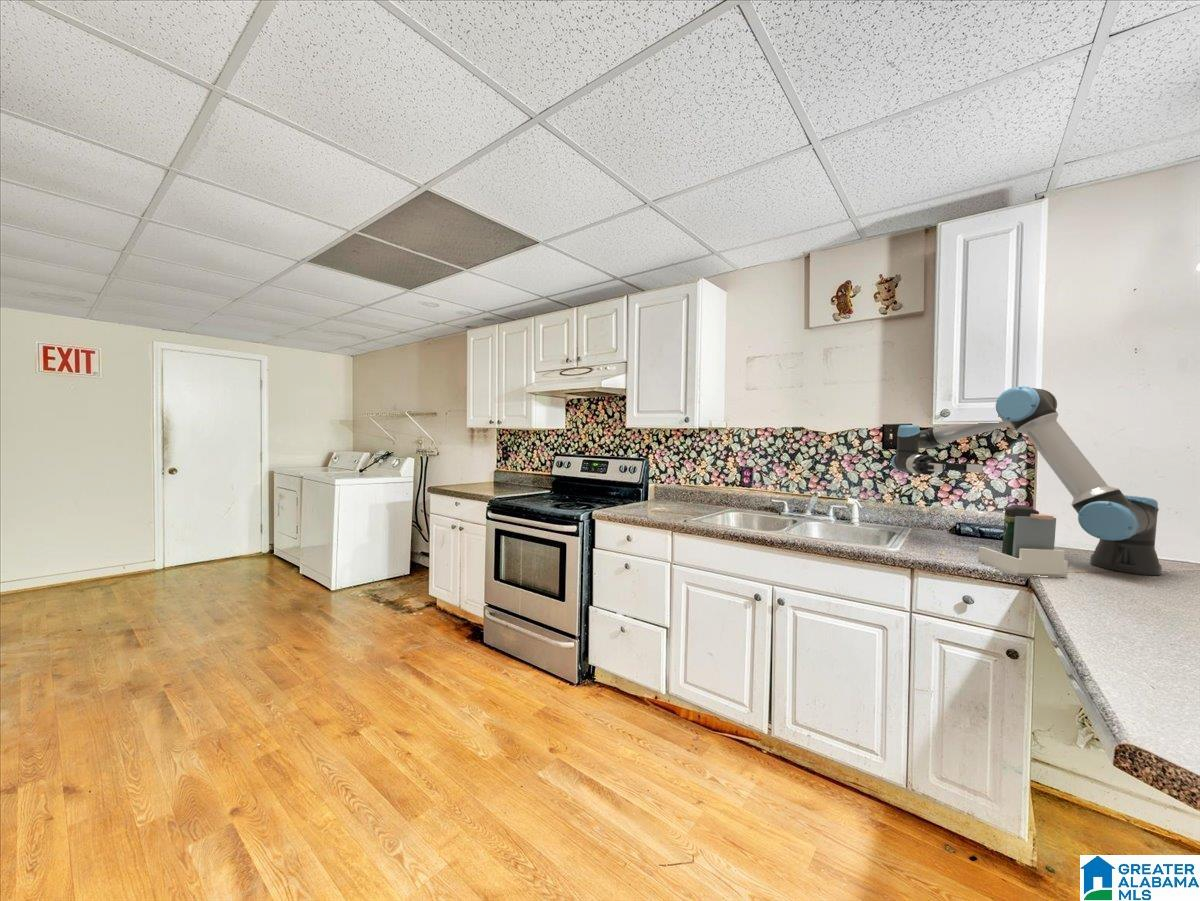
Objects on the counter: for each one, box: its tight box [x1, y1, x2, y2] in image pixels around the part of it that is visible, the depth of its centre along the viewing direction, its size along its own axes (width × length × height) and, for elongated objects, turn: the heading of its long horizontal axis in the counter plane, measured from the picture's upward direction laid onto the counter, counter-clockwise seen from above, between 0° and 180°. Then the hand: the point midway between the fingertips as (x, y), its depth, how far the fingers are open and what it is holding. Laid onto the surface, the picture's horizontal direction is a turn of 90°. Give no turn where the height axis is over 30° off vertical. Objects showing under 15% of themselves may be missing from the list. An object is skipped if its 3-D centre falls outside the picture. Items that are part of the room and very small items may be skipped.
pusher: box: [1012, 513, 1057, 557], centre depth 139 cm, size 11×4×13 cm, turn 88°
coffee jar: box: [1001, 504, 1040, 558], centre depth 146 cm, size 10×8×19 cm
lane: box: [977, 546, 1069, 579], centre depth 145 cm, size 14×15×8 cm
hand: (961, 468), depth 164 cm, fingers open, 13 cm apart
